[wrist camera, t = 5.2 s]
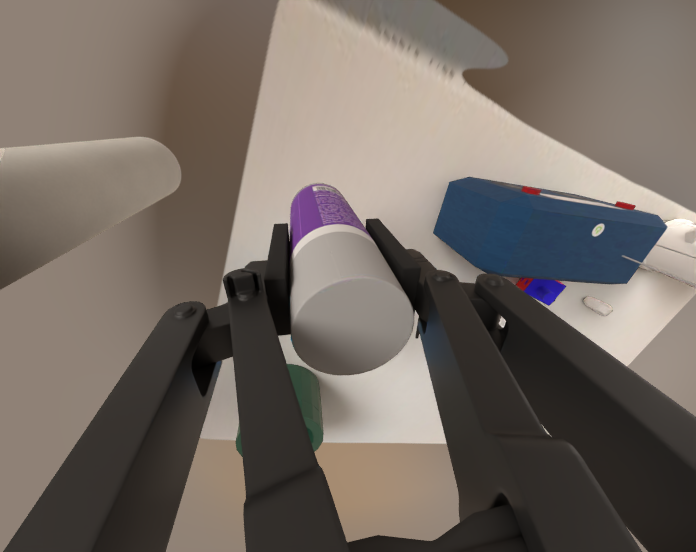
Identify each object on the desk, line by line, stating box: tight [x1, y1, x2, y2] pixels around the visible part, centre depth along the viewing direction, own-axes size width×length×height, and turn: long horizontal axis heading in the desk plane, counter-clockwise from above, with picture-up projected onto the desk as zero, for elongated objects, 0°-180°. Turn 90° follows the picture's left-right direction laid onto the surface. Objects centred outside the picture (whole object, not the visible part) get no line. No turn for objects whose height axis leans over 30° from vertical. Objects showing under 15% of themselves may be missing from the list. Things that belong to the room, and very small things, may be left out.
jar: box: [236, 364, 324, 457], centre depth 43 cm, size 12×12×9 cm
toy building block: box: [516, 278, 566, 305], centre depth 41 cm, size 4×4×8 cm
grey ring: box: [583, 296, 613, 316], centre depth 47 cm, size 4×2×4 cm, turn 61°
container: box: [289, 183, 414, 375], centre depth 16 cm, size 5×5×15 cm
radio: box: [433, 177, 696, 287], centre depth 29 cm, size 21×9×20 cm, turn 80°
